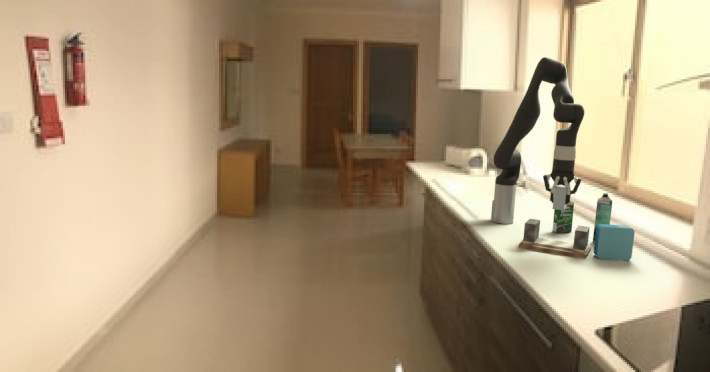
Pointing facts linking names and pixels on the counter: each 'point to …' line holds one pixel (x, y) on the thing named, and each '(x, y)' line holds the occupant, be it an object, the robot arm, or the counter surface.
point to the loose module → (559, 197)
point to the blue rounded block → (614, 242)
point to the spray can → (602, 212)
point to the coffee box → (563, 219)
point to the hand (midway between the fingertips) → (559, 203)
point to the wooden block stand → (555, 241)
